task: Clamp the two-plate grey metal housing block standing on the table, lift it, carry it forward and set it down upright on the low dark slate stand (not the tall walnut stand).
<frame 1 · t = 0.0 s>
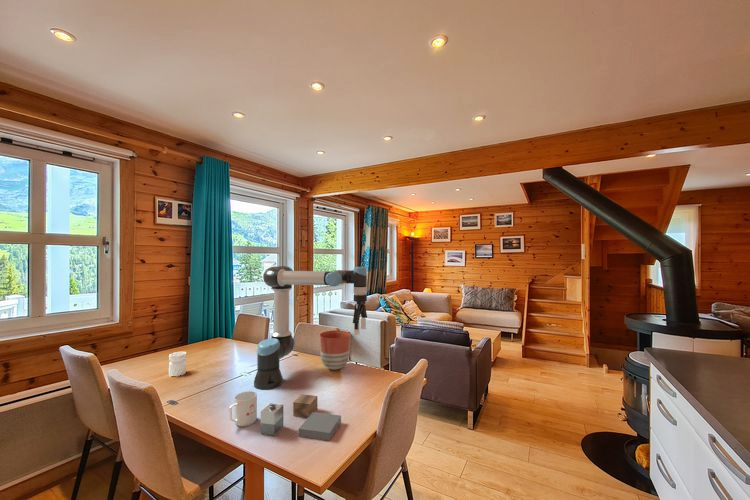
hand: (360, 332, 171), 28 cm above the table, fingers open, 13 cm apart
housing: (272, 430, 124), on the table
white lidded jar: (177, 374, 183), on the table
planter: (335, 368, 192), on the table
slate stand: (320, 429, 125), on the table
walnut stand: (305, 412, 138), on the table
mug: (242, 424, 129), on the table
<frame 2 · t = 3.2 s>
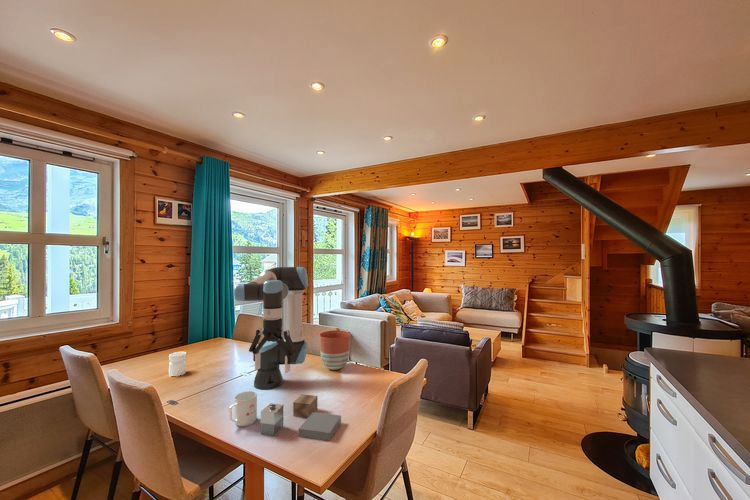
hand: (272, 370, 124), 24 cm above the table, fingers open, 13 cm apart
nothing on the table moved.
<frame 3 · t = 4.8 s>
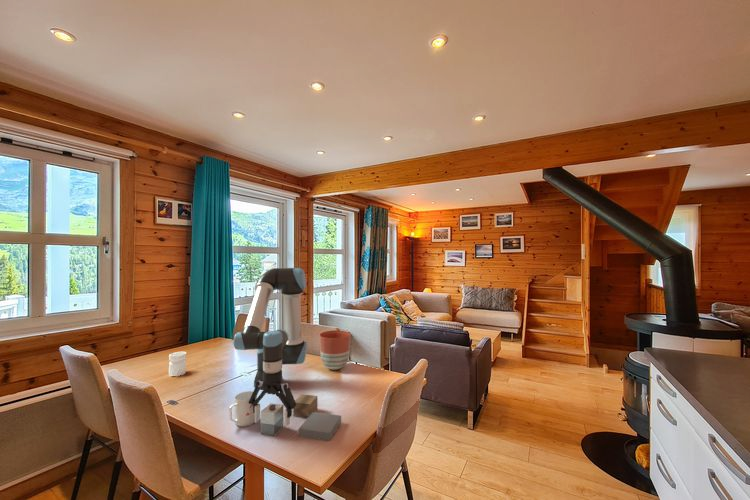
hand: (272, 423, 124), 3 cm above the table, fingers open, 13 cm apart
nothing on the table moved.
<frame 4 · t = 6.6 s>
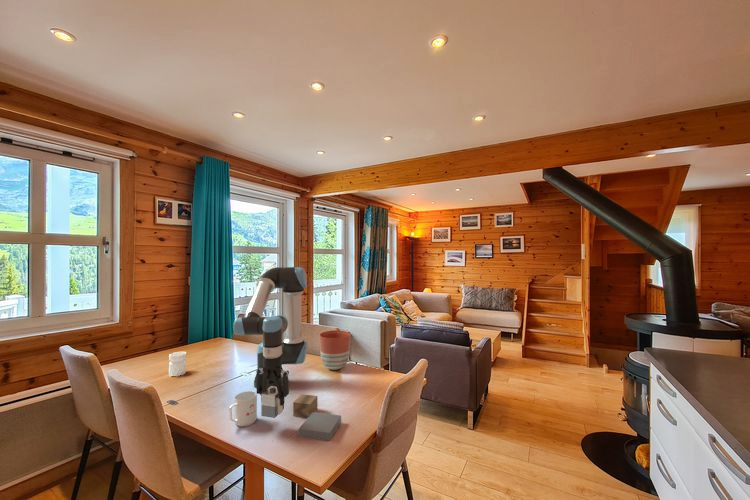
hand: (272, 411, 125), 7 cm above the table, fingers closed on housing, 6 cm apart
housing: (272, 412, 125), point 7 cm above the table, touching gripper
everything else where it was.
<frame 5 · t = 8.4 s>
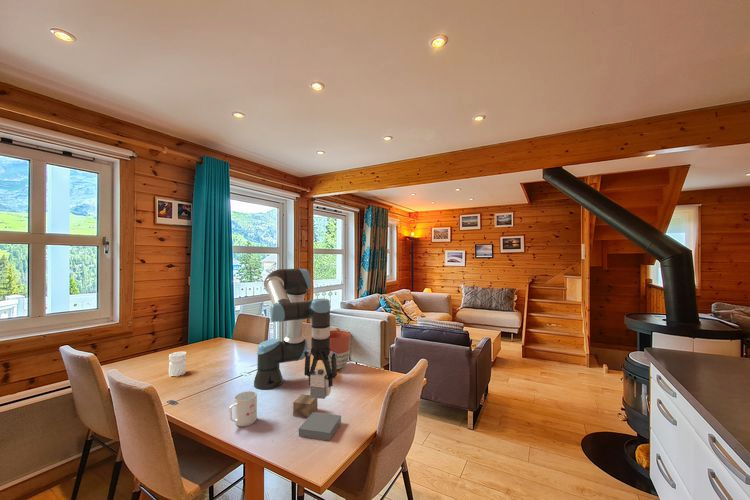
hand: (320, 393, 125), 15 cm above the table, fingers closed on housing, 6 cm apart
housing: (320, 394, 125), point 14 cm above the table, touching gripper
everything else where it was.
when the fingers open (4 cm above the table, at t = 10.6 s): housing stays where it is, resting on slate stand.
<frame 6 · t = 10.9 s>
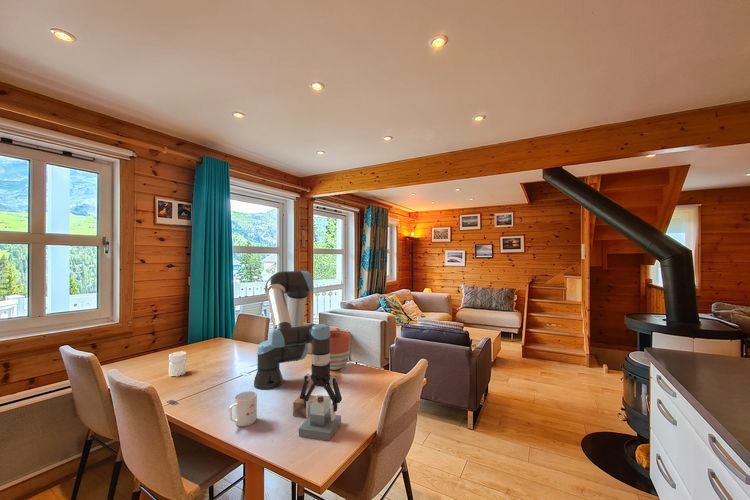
hand: (320, 417, 125), 5 cm above the table, fingers open, 10 cm apart
housing: (320, 421, 125), point 3 cm above the table, touching slate stand
everything else where it was.
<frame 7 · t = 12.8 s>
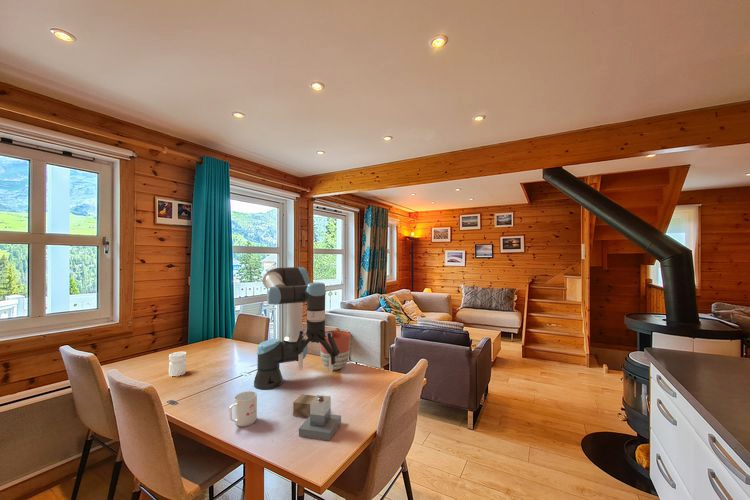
hand: (315, 370, 128), 23 cm above the table, fingers open, 13 cm apart
nothing on the table moved.
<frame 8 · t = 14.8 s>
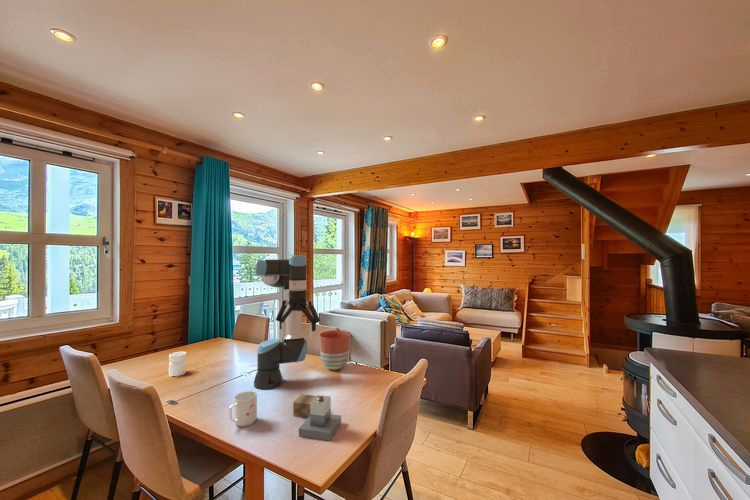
hand: (297, 337, 135), 35 cm above the table, fingers open, 13 cm apart
nothing on the table moved.
at the end: housing inside the target area on the slate stand (0.1 cm from its centre), point 3.0 cm above the slate stand's base; housing tilted 0°; the gripper is holding nothing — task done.
